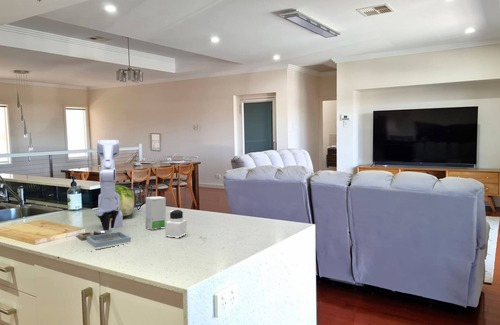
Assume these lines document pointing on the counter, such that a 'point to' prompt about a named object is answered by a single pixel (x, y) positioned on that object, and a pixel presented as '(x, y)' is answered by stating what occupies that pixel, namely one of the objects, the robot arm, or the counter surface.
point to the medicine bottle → (175, 223)
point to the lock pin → (108, 232)
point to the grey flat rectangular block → (90, 234)
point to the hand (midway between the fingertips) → (108, 229)
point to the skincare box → (155, 212)
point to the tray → (123, 239)
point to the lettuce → (125, 199)
